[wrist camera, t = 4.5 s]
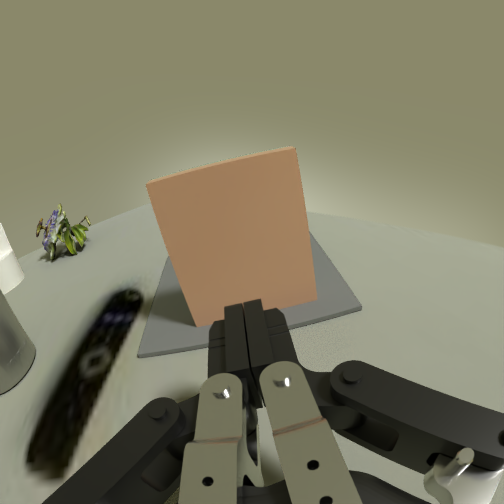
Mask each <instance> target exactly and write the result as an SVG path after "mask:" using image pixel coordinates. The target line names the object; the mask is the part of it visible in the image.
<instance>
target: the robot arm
mask: <svg viewBox="0 0 504 504" xmlns="http://www.w3.org/2000/svg"><path fill="white" fill-rule="evenodd" d="M243 306H244V307H243ZM208 348H209V350H208V379H207V380H206V381H205V382H204V383H203V385H202V386H201V389H200V393H199V394H197V395H196V396H194V397H192V398H190V399H188V400H185V401H183V402H180V403H178V404H177V403H176V402H175V401H174V400H173V399H170V398H165V397H163V398H157V399H154V400H152V401H150V402H149V403H148V404H147V405H146V406H145V407H143V408H142V409H141V410H140V411H139V412H138V413H137V414H136V415H135V416H134V417H133V418H132V419H131V420H130V421H129V422H128V423H127V424H126V425H125V426H124V427H123V428H122V429H121V430H120V431H119V432H118V433H117V434H116V435H115V436H114V437H113V438H112V439H111V440H110V441H109V442H108V443H107V444H106V445H104V446H103V447H102V448H101V449H100V450H99V451H98V452H97V453H96V454H95V455H94V456H93V457H92V458H91V459H90V460H89V461H88V462H87V463H85V464H84V465H83V466H82V467H81V468H80V469H79V470H78V471H77V472H76V473H75V474H74V475H73V476H71V477H70V478H69V479H68V480H67V481H66V482H65V483H64V484H63V485H62V486H60V487H59V488H58V489H57V490H56V491H55V492H54V493H53V494H52V495H50V496H49V497H48V498H47V499H46V500H45V501H44V502H43V503H42V504H163V503H164V502H165V501H166V500H167V499H168V498H169V497H170V496H171V495H172V494H173V493H174V492H175V491H176V490H177V488H178V487H179V486H180V491H179V501H178V503H177V504H431V503H429V502H426V501H424V500H422V499H420V498H418V497H415V496H413V495H411V494H409V493H407V492H405V491H403V490H401V489H399V488H397V487H395V486H393V485H391V484H389V483H387V482H385V481H383V480H381V479H379V478H377V477H375V476H373V475H370V474H367V473H363V472H359V471H351V470H348V468H347V466H346V463H345V461H344V459H343V456H342V454H341V452H340V449H339V447H338V445H337V442H336V440H335V437H334V435H333V433H332V430H331V429H333V430H334V431H335V432H336V433H338V434H340V435H341V436H343V437H345V438H347V439H349V440H351V441H353V442H355V443H357V444H359V445H361V446H363V447H365V448H367V449H369V450H371V451H373V452H375V453H377V454H379V455H381V456H383V457H385V458H387V459H389V460H392V461H394V462H396V463H398V464H400V465H403V466H405V467H407V468H410V469H412V470H414V471H417V472H419V473H422V474H424V475H425V476H424V488H425V490H426V491H427V493H428V494H430V495H431V496H433V497H435V498H436V499H437V500H438V501H439V503H440V504H489V503H490V501H491V499H492V497H493V495H494V493H495V491H496V488H497V486H498V484H499V481H500V479H501V476H502V474H503V471H504V413H500V412H497V411H494V410H491V409H488V408H485V407H482V406H479V405H476V404H473V403H470V402H467V401H464V400H461V399H458V398H455V397H452V396H450V395H447V394H444V393H441V392H439V391H436V390H433V389H430V388H428V387H425V386H422V385H420V384H417V383H415V382H412V381H409V380H407V379H404V378H402V377H399V376H397V375H394V374H392V373H389V372H387V371H384V370H382V369H379V368H377V367H374V366H372V365H369V364H367V363H365V362H362V361H356V360H352V361H346V362H343V363H341V364H339V365H338V366H336V367H335V368H334V369H333V371H332V372H314V371H310V370H308V369H306V368H304V367H303V366H302V365H301V364H300V363H299V361H298V359H297V355H296V352H295V349H294V345H293V342H292V339H291V335H290V333H289V329H288V326H287V322H286V319H285V316H284V314H283V313H282V312H281V311H280V310H279V309H278V308H272V309H268V310H263V305H262V301H261V298H260V299H256V300H251V301H247V302H243V304H242V303H238V304H234V305H229V306H225V307H224V319H223V320H218V321H214V322H213V324H212V326H211V328H210V330H209V343H208ZM34 356H35V347H34V344H33V343H32V341H31V340H30V338H29V337H28V335H27V334H26V332H25V331H24V329H23V328H22V326H21V324H20V323H19V321H18V320H17V318H16V316H15V314H14V313H13V311H12V309H11V307H10V306H9V304H8V302H7V300H6V298H5V297H4V295H3V293H2V291H1V289H0V394H2V393H4V392H6V391H7V390H9V389H11V388H12V387H13V386H14V385H16V384H17V383H18V382H19V381H20V380H21V379H22V377H23V376H24V375H25V374H26V372H27V371H28V369H29V368H30V366H31V364H32V362H33V360H34ZM261 397H262V398H261ZM262 400H263V403H264V406H265V407H266V409H267V412H268V416H269V420H270V423H271V427H272V431H273V437H274V441H275V445H276V449H277V452H278V456H279V460H280V463H281V467H282V470H283V474H284V477H285V480H282V481H280V482H278V483H275V484H273V485H270V486H267V487H264V481H263V477H262V473H261V463H260V440H259V425H258V417H257V410H256V409H258V408H263V405H262Z"/></svg>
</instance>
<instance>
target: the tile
mask: <svg viewBox="0 0 504 504" xmlns="http://www.w3.org/2000/svg"><path fill="white" fill-rule="evenodd" d="M146 187H147V191H148V194H149V197H150V200H151V203H152V207H153V210H154V213H155V216H156V219H157V222H158V225H159V228H160V231H161V234H162V237H163V240H164V243H165V245H166V248H167V251H168V254H169V257H170V259H171V262H172V265H173V268H174V270H175V273H176V276H177V278H178V281H179V284H180V286H181V289H182V292H183V294H184V297H185V299H186V302H187V304H188V307H189V309H190V312H191V314H192V317H193V319H194V322H195V324H196V326H197V327H201V326H206V325H211V324H213V322H214V321H218V320H223V319H224V307H225V306H229V305H234V304H238V303H242V304H243V302H247V301H251V300H256V299H260V298H261V301H262V305H263V310H268V309H272V308H278V309H283V308H287V307H291V306H295V305H299V304H303V303H307V302H311V301H315V300H317V291H316V282H315V274H314V266H313V258H312V250H311V242H310V235H309V228H308V221H307V214H306V208H305V201H304V195H303V188H302V182H301V176H300V170H299V165H298V159H297V153H296V148H294V147H292V146H287V147H282V148H276V149H272V150H266V151H261V152H257V153H252V154H248V155H243V156H238V157H234V158H230V159H226V160H222V161H217V162H213V163H209V164H205V165H201V166H197V167H194V168H190V169H186V170H182V171H179V172H175V173H172V174H168V175H165V176H162V177H158V178H155V179H151V180H150V181H149V182H148V183H147V184H146ZM243 307H244V306H243Z"/></svg>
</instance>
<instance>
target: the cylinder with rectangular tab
mask: <svg viewBox="0 0 504 504" xmlns="http://www.w3.org/2000/svg"><path fill="white" fill-rule="evenodd" d="M24 277H25V276H24V273H23V271H22V269H21V267H20V265H19V263H18V261H17V258H16V256H15V254H14V252H13V250H12V248H11V246H10V244H9V241H8V239H7V236H6V234H5V231H4V229H3V226H2V224H1V223H0V289H1V291H2V293H3V295H4V294H6V293H7V292H9V291H11V290H12V289H13V288H15V287H16V286H17V285H18V284H19V283H20V282H21V281H22V280H23V279H24Z"/></svg>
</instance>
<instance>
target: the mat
mask: <svg viewBox="0 0 504 504" xmlns="http://www.w3.org/2000/svg"><path fill="white" fill-rule="evenodd" d="M309 235H310V242H311V250H312V258H313V266H314V274H315V282H316V291H317V300H315V301H311V302H307V303H303V304H299V305H295V306H291V307H287V308H283V309H279V310H280V311H281V312H282V313H283V314H284V316H285V319H286V322H287V326H288V329H293V328H297V327H301V326H305V325H309V324H313V323H317V322H320V321H324V320H328V319H331V318H335V317H338V316H342V315H345V314H349V313H352V312H356V311H359V310H362V305H361V304H360V302H359V301H358V299H357V298H356V296H355V295H354V293H353V292H352V290H351V289H350V287H349V286H348V285H347V283H346V282H345V280H344V279H343V277H342V276H341V274H340V273H339V272H338V270H337V269H336V267H335V266H334V265H333V263H332V262H331V260H330V259H329V258H328V256H327V255H326V253H325V252H324V251H323V249H322V248H321V246H320V245H319V244H318V242H317V241H316V240H315V238H314V237H313V235H312V234H311V233H310V231H309ZM211 326H212V324H211V325H206V326H201V327H197V326H196V324H195V322H194V319H193V317H192V314H191V312H190V309H189V307H188V304H187V302H186V299H185V297H184V294H183V292H182V289H181V286H180V284H179V281H178V278H177V276H176V273H175V270H174V268H173V265H172V262H171V259H170V257H169V256H168V258H167V261H166V264H165V267H164V270H163V273H162V276H161V279H160V282H159V285H158V288H157V291H156V294H155V297H154V300H153V303H152V307H151V310H150V313H149V316H148V320H147V323H146V326H145V330H144V333H143V337H142V340H141V344H140V347H139V351H138V354H137V355H138V356H139V358H143V357H150V356H157V355H164V354H170V353H177V352H183V351H189V350H194V349H200V348H206V347H208V343H209V330H210V328H211Z"/></svg>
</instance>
